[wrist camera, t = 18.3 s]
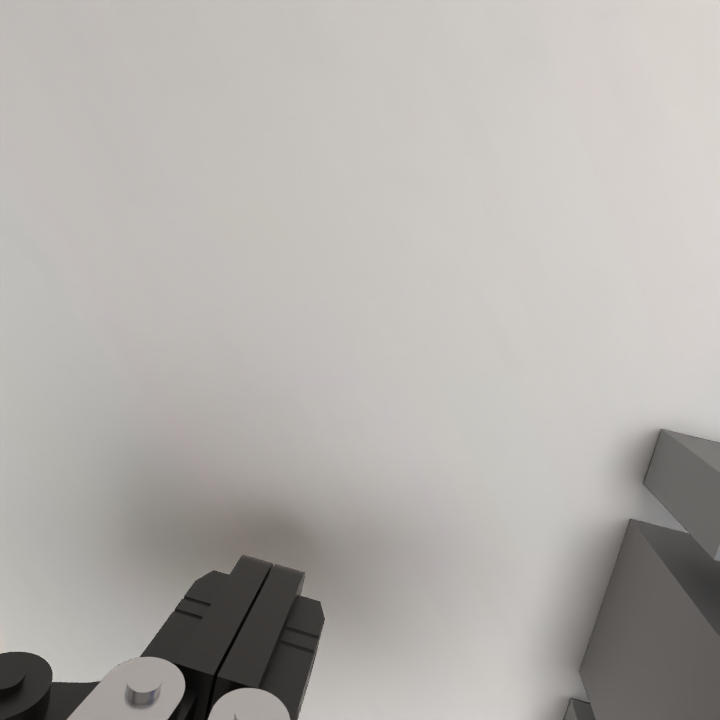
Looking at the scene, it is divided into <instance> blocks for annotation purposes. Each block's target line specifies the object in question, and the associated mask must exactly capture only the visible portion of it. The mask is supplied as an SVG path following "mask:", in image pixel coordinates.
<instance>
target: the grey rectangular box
mask: <svg viewBox="0 0 720 720" xmlns="http://www.w3.org/2000/svg"><path fill="white" fill-rule="evenodd" d="M579 672H580V675H581V678H582V681H583V684H584V687H585V690H586V693H587V696H588V698H589V701H590V704H591V707H592V710H593V713H594V716H595V719H596V720H720V561H717V560H714V559H713V558H712V557H711V556H710V555H709V554H708V553H707V552H706V551H705V550H704V549H703V548H702V546H701V545H700V544H699V543H698V542H697V541H696V540H695V539H694V538H693V537H692V536H691V535H690V534H688V533H684V532H681V531H677V530H673V529H669V528H665V527H661V526H657V525H653V524H649V523H645V522H641V521H637V520H633V519H630V522H629V525H628V528H627V531H626V534H625V537H624V540H623V542H622V545H621V548H620V551H619V554H618V557H617V560H616V563H615V566H614V569H613V572H612V575H611V578H610V581H609V584H608V587H607V590H606V593H605V596H604V599H603V602H602V605H601V608H600V611H599V614H598V617H597V620H596V623H595V626H594V629H593V632H592V634H591V637H590V640H589V643H588V646H587V649H586V652H585V655H584V658H583V661H582V664H581V667H580V670H579Z"/></svg>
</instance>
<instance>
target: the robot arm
mask: <svg viewBox="0 0 720 720" xmlns="http://www.w3.org/2000/svg"><path fill="white" fill-rule="evenodd" d="M304 578H305V573H304V572H301V571H297V570H294V569H290V568H287V567H283V566H280V565H277V564H275V565H274V566H273V563H269V562H266V561H262V560H259V559H255V558H252V557H249V556H245V555H243V556H242V557H241V558H240V560H239V561H238V563H237V564H236V566H235V567H234V569H233V571H232V572H231V574H230V575H227V574H224V573H221V572H217V571H212V572H210V573H208V574H207V575H205V576H203V577H202V578H200V579H198V580H196V581H195V582H194V584H193V585H192V587H191V588H190V589H189V591H188V592H187V593H186V595H185V596H184V599H182V600H181V602H180V603H179V604H178V606H177V607H176V608H175V611H174V612H173V613H172V614H171V615H170V617H169V618H168V619H167V621H166V622H165V623H164V625H163V626H162V628H161V629H160V630H159V632H158V633H157V634H156V636H155V637H154V639H153V640H152V641H151V643H150V644H149V645H148V647H147V648H146V650H145V651H144V652H143V654H142V655H141V656H140V657H139V658H134V659H131V660H128V661H125V662H123V663H121V664H119V665H118V666H116V667H115V668H113V669H112V670H111V671H110V672H109V673H108V674H107V675H106V676H105V677H104V679H103V680H102V681H98V682H91V683H66V682H52V670H51V667H50V665H49V664H48V662H47V661H45V660H44V659H43V658H41V657H40V656H38V655H35V654H32V653H27V652H8V653H2V654H0V720H298V717H299V713H300V710H301V707H302V703H303V700H304V696H305V693H306V689H307V686H308V683H309V679H310V676H311V672H312V668H313V664H314V660H315V656H316V652H317V648H318V644H319V640H320V636H321V632H322V628H323V624H324V620H325V618H324V615H323V611H322V607H321V603H320V602H319V601H316V600H313V599H309V598H306V597H302V596H300V595H301V591H302V586H303V582H304Z"/></svg>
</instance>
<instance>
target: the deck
mask: <svg viewBox="0 0 720 720" xmlns="http://www.w3.org/2000/svg"><path fill="white" fill-rule="evenodd" d="M644 485H645V486H646V487H647V488H648V489H649V490H650V492H651V493H652V494H653V495H654V496H655V497H656V498H657V499H658V500H659V501H660V502H661V503H662V504H663V506H664V507H665V508H666V509H667V510H668V511H669V512H670V513H671V514H672V515H673V516H674V517H675V518H676V520H677V521H678V522H679V523H680V524H681V525H682V526H683V527H684V528H685V529H686V530H687V531H688V532H689V534H690V535H691V536H692V537H693V538H694V539H695V540H696V541H697V542H698V543H699V544H700V545H701V546H702V548H703V549H704V550H705V551H706V552H707V553H708V554H709V555H710V556H711V557H712V558H713V559H714V560H717V561H720V443H718V442H713V441H709V440H705V439H701V438H697V437H692V436H688V435H684V434H680V433H676V432H671V431H667V430H663V429H662V430H661V433H660V436H659V439H658V442H657V445H656V448H655V451H654V454H653V457H652V460H651V463H650V466H649V469H648V472H647V475H646V478H645V481H644ZM564 720H596V719H595V716H594V713H593V710H592V707H591V704H588V703H585V702H581V701H578V700H574V699H571V700H570V703H569V706H568V709H567V712H566V715H565V718H564Z"/></svg>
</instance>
